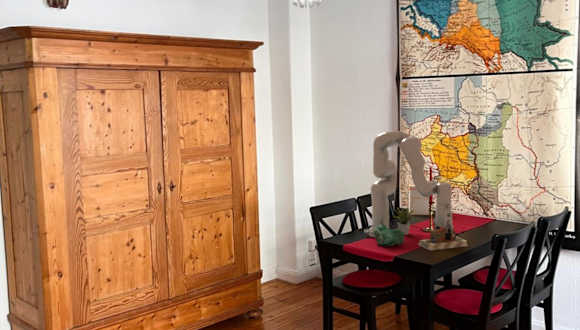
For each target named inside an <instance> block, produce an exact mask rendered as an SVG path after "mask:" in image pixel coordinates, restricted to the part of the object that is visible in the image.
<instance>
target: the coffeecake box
mask: <svg viewBox="0 0 580 330" xmlns="http://www.w3.org/2000/svg"><path fill="white" fill-rule="evenodd" d="M433 201H434V195H432V202H433ZM433 204H434V202H433V203H432V212H434V211H433V209H434V208H433V206H434V205H433ZM408 208H409V209H408V213H409V212H411V211H412V210H413V212H414V213H411V214H410V215H409V216H412V215H414V216H430V215H429V196H428V197H424V196H422V195H421V194H420V193H419V192H418V190H417V189H416V187H415V185H414V183H413V184H408ZM415 209H416V210H415Z"/></svg>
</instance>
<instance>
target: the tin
mask: <svg viewBox="0 0 580 330" xmlns="http://www.w3.org/2000/svg"><path fill="white" fill-rule="evenodd" d="M447 230H448V229H447ZM445 233H446V231H445V229H444V228H441V229H435V228H434V229H433V230H432V231H431V232H430V233H429V239H430V241H431V243H433V244H435V243H444V242H452V241H455V239H456V237H457V234H456V233H457V232H456V231H455V230H454V229H453V230H452V233H451V240H445Z"/></svg>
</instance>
